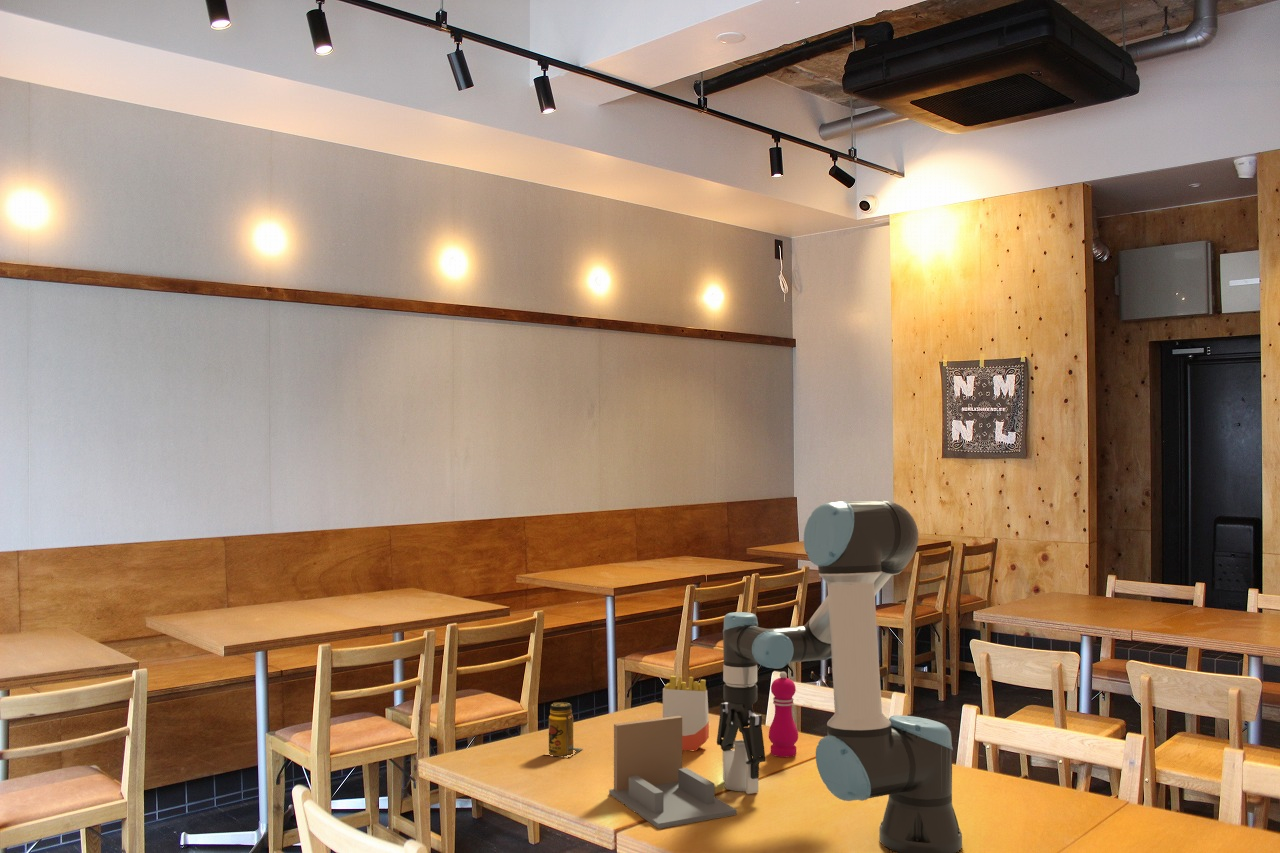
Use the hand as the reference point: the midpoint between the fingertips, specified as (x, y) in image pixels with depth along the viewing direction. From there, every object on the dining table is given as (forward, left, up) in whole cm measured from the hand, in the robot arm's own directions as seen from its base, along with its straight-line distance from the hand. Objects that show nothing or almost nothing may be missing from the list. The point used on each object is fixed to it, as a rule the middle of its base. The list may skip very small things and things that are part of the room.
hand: (740, 786), depth 229 cm
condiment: (+42, +25, 0) cm, 49 cm away
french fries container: (+32, -4, 0) cm, 32 cm away
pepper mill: (+17, -23, 0) cm, 29 cm away
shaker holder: (-3, +19, 0) cm, 19 cm away
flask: (0, 0, 0) cm, 0 cm away
